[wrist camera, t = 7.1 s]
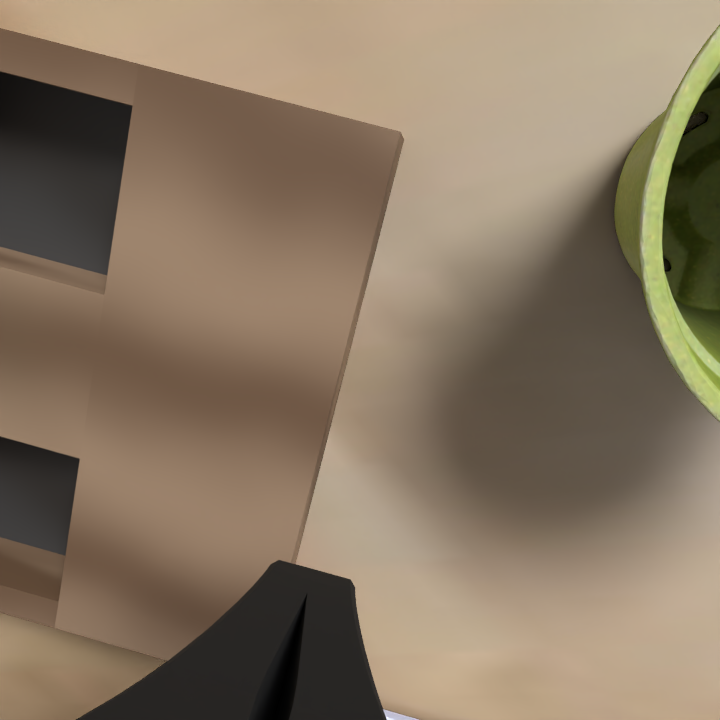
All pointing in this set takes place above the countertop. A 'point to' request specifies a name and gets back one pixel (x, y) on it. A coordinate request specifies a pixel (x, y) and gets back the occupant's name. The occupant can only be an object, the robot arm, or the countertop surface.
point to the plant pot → (680, 225)
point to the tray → (167, 334)
